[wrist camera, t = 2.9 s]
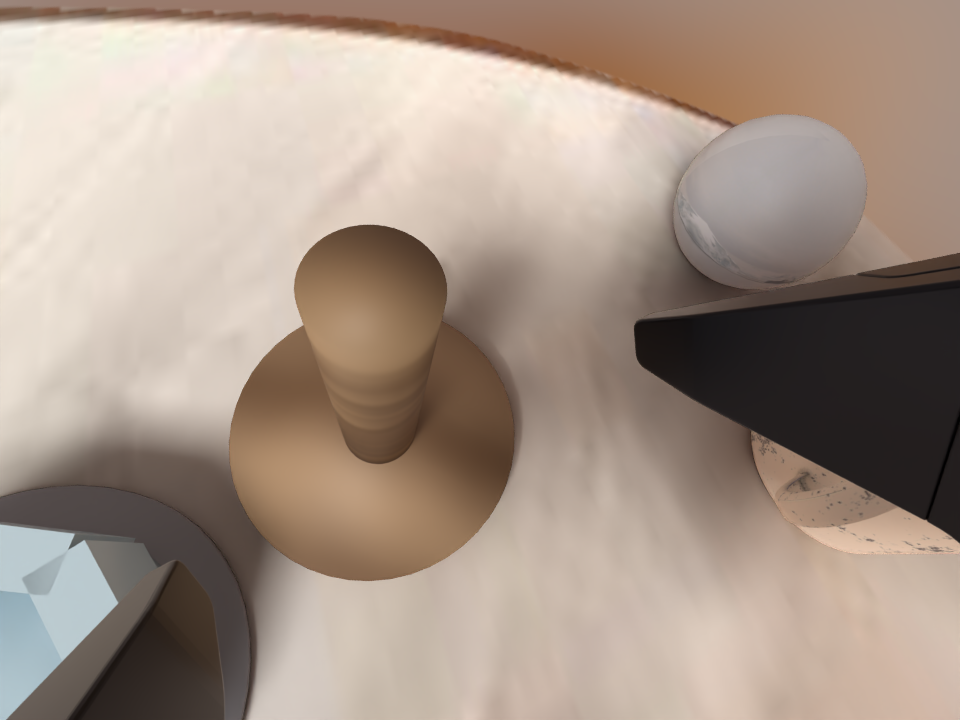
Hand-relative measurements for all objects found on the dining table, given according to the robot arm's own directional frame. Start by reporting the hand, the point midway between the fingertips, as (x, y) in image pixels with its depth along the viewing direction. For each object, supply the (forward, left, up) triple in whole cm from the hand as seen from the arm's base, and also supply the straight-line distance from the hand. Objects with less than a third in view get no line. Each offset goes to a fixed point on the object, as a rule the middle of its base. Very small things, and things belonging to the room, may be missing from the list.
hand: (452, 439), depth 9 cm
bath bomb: (+16, -14, -12) cm, 24 cm away
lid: (+3, +2, -12) cm, 12 cm away
